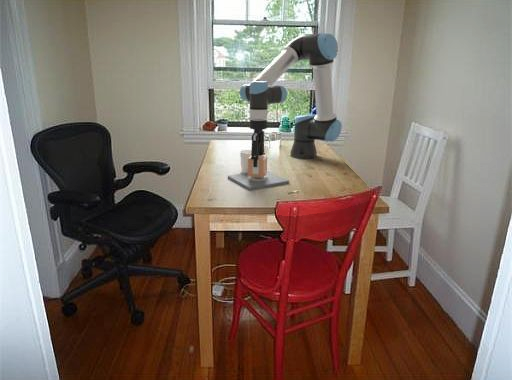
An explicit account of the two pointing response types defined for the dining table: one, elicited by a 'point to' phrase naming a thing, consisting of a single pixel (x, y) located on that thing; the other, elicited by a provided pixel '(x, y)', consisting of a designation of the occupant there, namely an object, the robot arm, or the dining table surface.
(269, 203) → the dining table surface
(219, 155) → the dining table surface
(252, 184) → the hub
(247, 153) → the white cup
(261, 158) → the peach colored cube
